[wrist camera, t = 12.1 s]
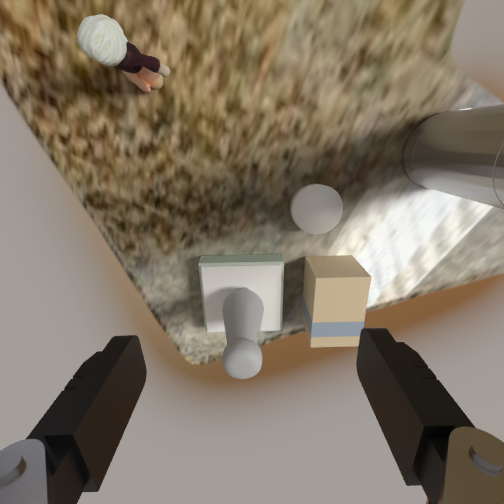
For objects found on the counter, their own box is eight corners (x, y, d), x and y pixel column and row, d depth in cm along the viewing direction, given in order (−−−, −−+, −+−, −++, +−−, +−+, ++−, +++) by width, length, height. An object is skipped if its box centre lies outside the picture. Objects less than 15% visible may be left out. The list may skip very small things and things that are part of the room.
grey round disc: (280, 203, 38) (283, 206, 35) (318, 173, 37) (325, 174, 34) (306, 238, 39) (311, 244, 36) (343, 211, 38) (352, 214, 35)
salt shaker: (258, 319, 42) (262, 392, 30) (220, 313, 41) (210, 385, 29) (266, 286, 39) (275, 351, 27) (227, 279, 39) (218, 342, 27)
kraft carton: (351, 255, 41) (371, 277, 35) (343, 316, 45) (360, 346, 39) (304, 256, 41) (315, 278, 35) (301, 317, 45) (310, 347, 39)
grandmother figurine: (116, 88, 32) (42, 60, 21) (114, 49, 31) (32, -5, 19) (182, 97, 33) (146, 75, 21) (183, 59, 31) (144, 12, 20)
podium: (281, 254, 41) (284, 262, 38) (280, 320, 45) (282, 332, 43) (201, 255, 41) (197, 264, 38) (207, 322, 45) (205, 334, 42)
